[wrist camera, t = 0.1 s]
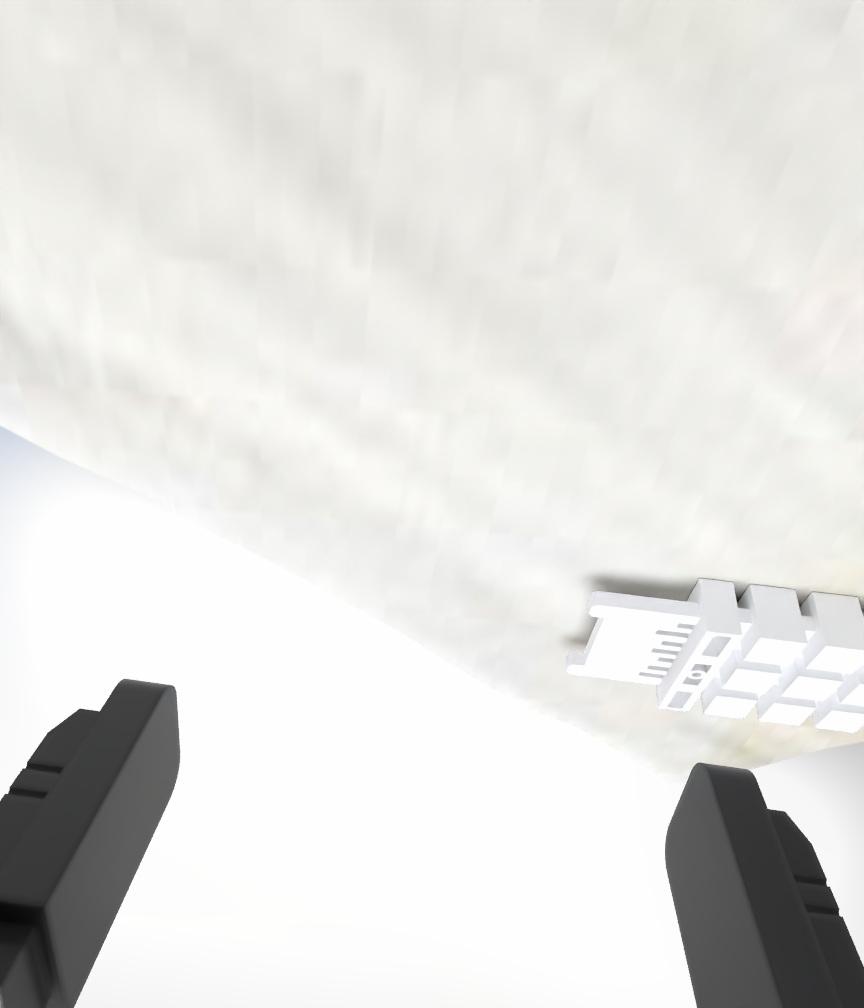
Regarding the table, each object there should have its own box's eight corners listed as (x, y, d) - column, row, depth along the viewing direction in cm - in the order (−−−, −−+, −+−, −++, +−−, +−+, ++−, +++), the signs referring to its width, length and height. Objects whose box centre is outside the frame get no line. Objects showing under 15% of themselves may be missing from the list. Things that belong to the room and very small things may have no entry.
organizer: (967, 747, 65) (563, 695, 66) (949, 695, 68) (563, 647, 69) (1074, 676, 55) (595, 617, 56) (1046, 619, 58) (593, 565, 59)
